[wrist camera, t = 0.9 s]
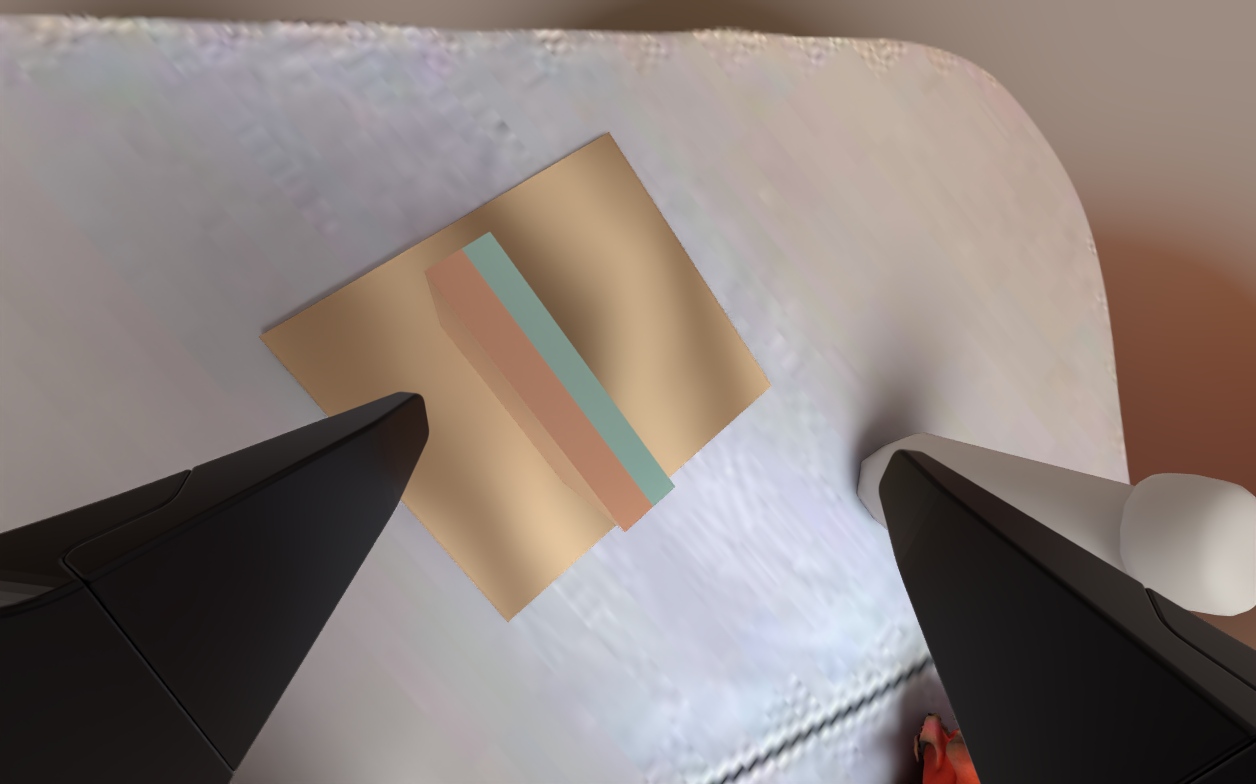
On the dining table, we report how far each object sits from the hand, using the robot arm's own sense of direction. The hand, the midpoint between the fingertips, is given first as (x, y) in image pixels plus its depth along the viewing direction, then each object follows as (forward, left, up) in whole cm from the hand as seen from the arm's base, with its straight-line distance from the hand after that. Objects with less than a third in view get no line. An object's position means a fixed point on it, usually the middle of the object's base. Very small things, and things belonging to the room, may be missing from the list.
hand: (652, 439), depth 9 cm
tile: (0, +2, -11) cm, 11 cm away
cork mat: (+2, +2, -12) cm, 12 cm away
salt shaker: (+13, -14, -12) cm, 23 cm away
